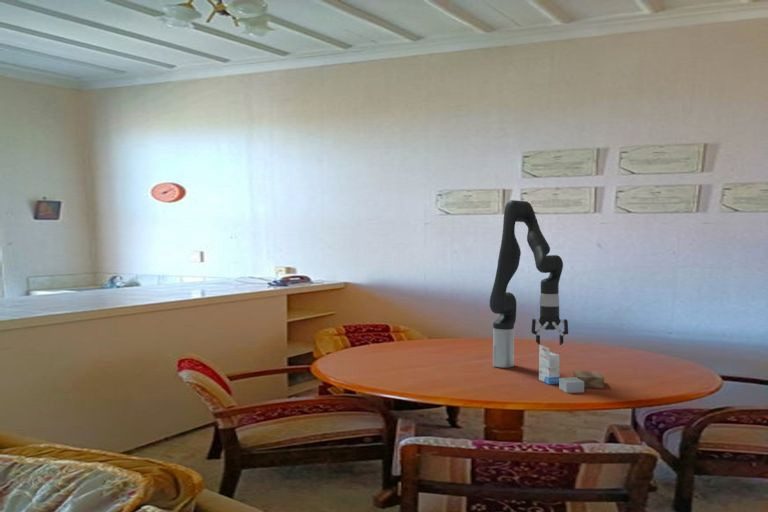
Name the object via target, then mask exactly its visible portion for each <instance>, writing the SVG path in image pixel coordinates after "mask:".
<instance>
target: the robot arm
mask: <svg viewBox="0 0 768 512" xmlns="http://www.w3.org/2000/svg"><path fill="white" fill-rule="evenodd" d="M516 222H517V223H524V224H525V225H526V227H527V235H526V241H527V244H528V246H529V248H530V250H531V252H532V254H533V258H534V263H535V267H536V269H537V271H539V272H540V273H543V274H549V275H548V277H546V278H544V279H541V281H540V296H539V319H536V318H532V319H531V334H533V335H535V341H536V342H535V343H536V344H537V345H538V346H539V345H541V336H540V335H541V334H542V332H543V331H544V330H546V331H549V330H550V331H555V330H556V331H557V332H558V333H559V335H558V336H559V337H558V340H559V341H558V343H559V344H558V345H559V346H562V345H563V344H564V336H565V335H568V334H569V323H568V322H569V321H568V319H567V318H563V319H561V318H560V294H559V290H560V289H559V288H560V287H559V285H560V284H559V282H560V279H561V277H562V276H561V275H562V271H563V268H564V262H563V260H562V258H561V256H559V255H558V254H554V255H551V254H549V253H550V251H551V247H550V244H549V243H548V241H547V240H546V237H545V236H544V235H543V232H542V231H541V228H540V225H539V221H538V219H537V216H536V214H535V211H534V208H533V206H532V204H531V203H530V202H529V201H527V200H514V199H513V200H511V199H510V200H508V201H507V202H506V205H505V206H504V212H503V224H502V235H501V243H500V249H499V254H498V260H497V268H496V272H495V278H494V282H493V287H492V288H491V292H490V298H489V308H490V310H491V312H492V313H493V314H498V315H499V316H498V318H496V319H495V320H494V321H493V323H492V326H493V327H492V329H493V330H492V338H493V339H492V342H493V343H492V366H493V367H495V368H503V369H504V368H506V369H507V368H512V367H514V366H515V365H514V363H515V361H514V360H515V359H514V358H515V352H514V351H515V350H514V349H515V325H516V320H517V299H516V296H515V295H514V294H513V292H508V291H507V289H508V286H509V283H510V281H511V279H512V278H513V276H515V274H516V272H517V270H518V269H519V265H520V260H521V256H522V255H521V253H522V251H521V248H520V247H521V246H520V244H519V242H518V240H517V237H516V234H515V233H516V232H515V231H516V230H515V229H516V228H515V227H516ZM538 323H539V324H540V326H539V328H538V329H537V330H536V325H537V324H538ZM561 324H562V325H563V331H562V330H561V328H560V327H559V325H561Z"/></svg>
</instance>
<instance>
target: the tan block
mask: <svg viewBox="0 0 768 512" xmlns="http://www.w3.org/2000/svg"><path fill="white" fill-rule="evenodd" d="M572 373H573V375H572V376H573V377H577V378H578V379H580V380H582V381H584V388H593V389H594V388H596V389H604V388H605V377H604V375H602V373H600V371H587V370H585V371H584V370H573V372H572ZM573 377H572V378H573Z"/></svg>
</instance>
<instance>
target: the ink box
mask: <svg viewBox="0 0 768 512" xmlns="http://www.w3.org/2000/svg"><path fill="white" fill-rule="evenodd" d="M538 347H539V348H538V350H539V351H538V352H539V353H538V381H541V382H543V383H545V384H547V385H559V378H560V364H561V363H560V354H557V353H555V352H552V351H550V347H548V346H545V345H542V344H540V345H538Z"/></svg>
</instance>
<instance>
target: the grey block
mask: <svg viewBox="0 0 768 512" xmlns="http://www.w3.org/2000/svg"><path fill="white" fill-rule="evenodd" d="M558 388H559V389H560V390H561V391H563V392H564V393H566V394H570V393H571V394H573V393H585V387H584V381H582V380H580V379H578V378H577V377H559V384H558Z"/></svg>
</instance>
